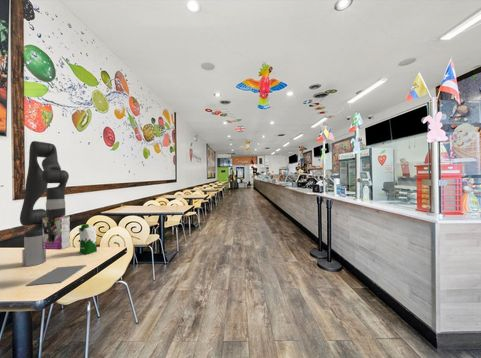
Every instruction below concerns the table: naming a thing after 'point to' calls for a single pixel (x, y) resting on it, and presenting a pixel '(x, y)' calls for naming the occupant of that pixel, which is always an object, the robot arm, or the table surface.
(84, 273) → the table surface
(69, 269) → the mat
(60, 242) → the candy bar box
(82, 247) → the milk carton
